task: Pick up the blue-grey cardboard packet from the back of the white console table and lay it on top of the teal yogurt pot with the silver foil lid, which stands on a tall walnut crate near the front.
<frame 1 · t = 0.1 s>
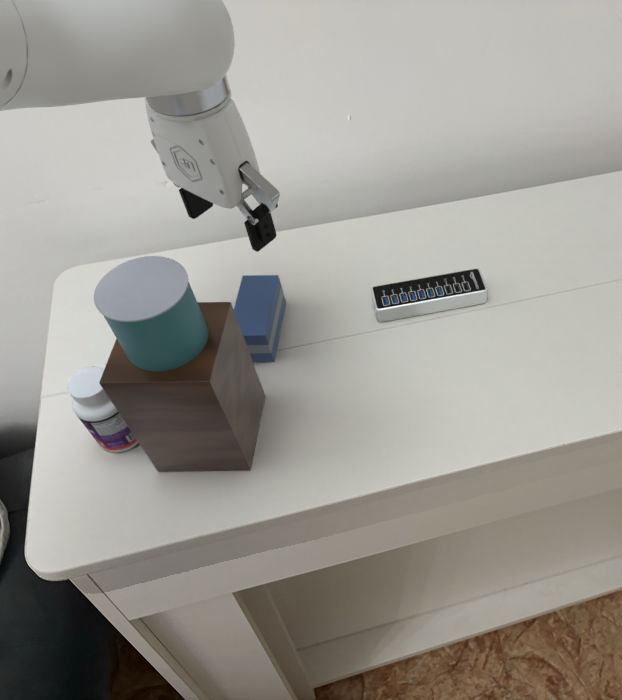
hand: (232, 227, 79), 15 cm above the table, tool pointing down, fingers open, 9 cm apart
yogurt pot: (167, 340, 67), point 16 cm above the table, touching walnut crate
packet: (262, 331, 89), on the table
multiport hub: (429, 301, 93), on the table
pill bottle: (124, 434, 80), on the table
walnut crate: (213, 432, 80), on the table
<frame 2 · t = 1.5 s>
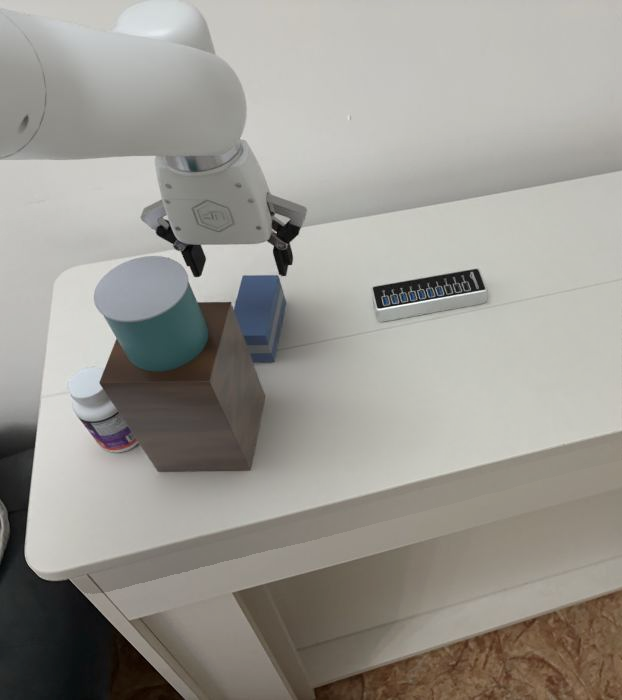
hand: (242, 268, 81), 11 cm above the table, tool pointing down, fingers open, 9 cm apart
nothing on the table moved.
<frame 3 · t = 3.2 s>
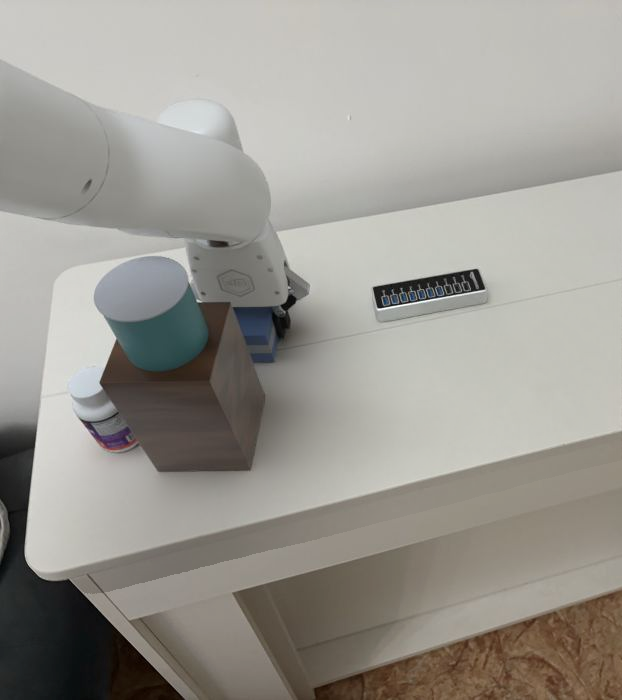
hand: (262, 329, 89), 0 cm above the table, tool pointing down, fingers closed on packet, 4 cm apart
packet: (262, 331, 89), on the table, touching gripper
everything else where it was.
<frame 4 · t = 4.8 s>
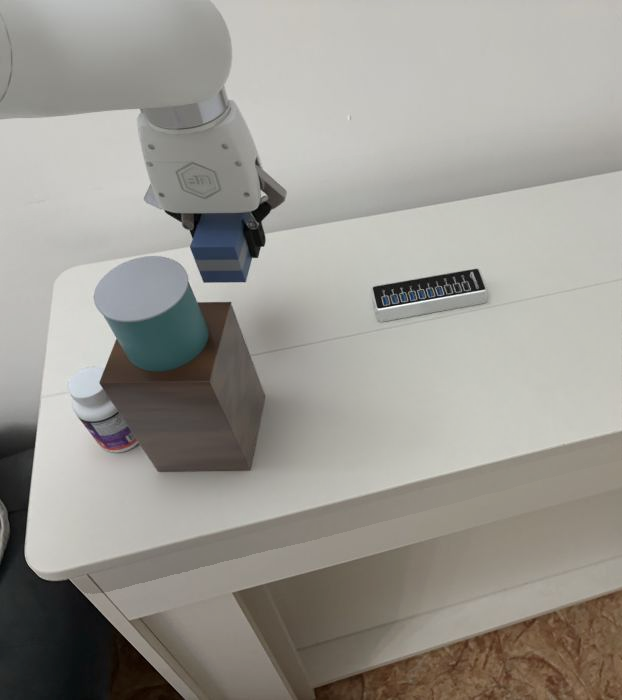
hand: (233, 248, 78), 14 cm above the table, tool pointing down, fingers closed on packet, 4 cm apart
packet: (233, 251, 78), point 14 cm above the table, touching gripper
everything else where it was.
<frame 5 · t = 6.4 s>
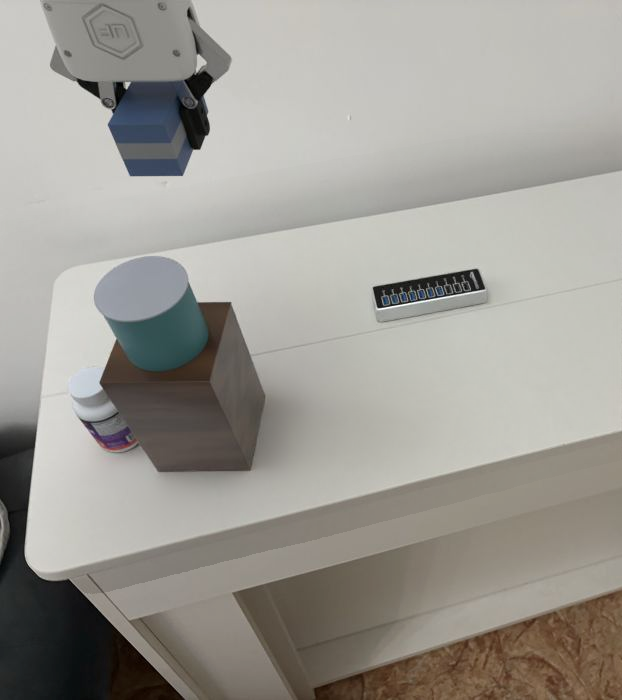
hand: (169, 139, 63), 31 cm above the table, tool pointing down, fingers closed on packet, 4 cm apart
packet: (171, 142, 63), point 30 cm above the table, touching gripper
everything else where it was.
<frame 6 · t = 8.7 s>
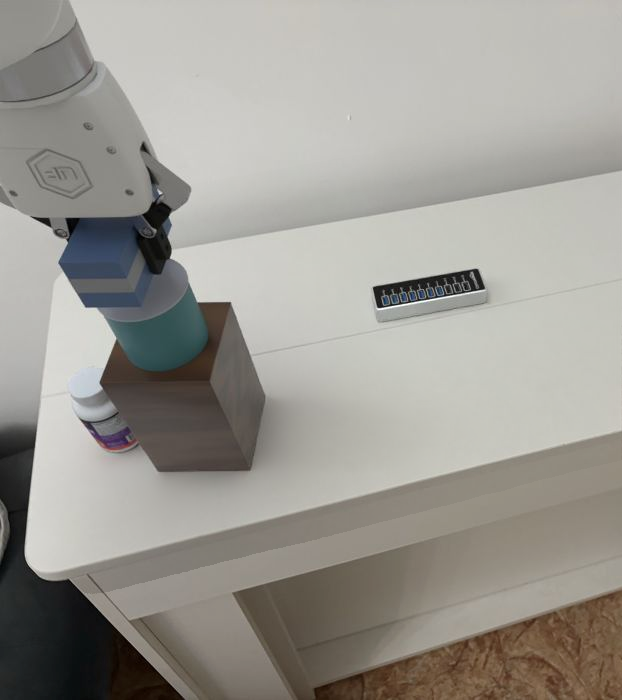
hand: (129, 261, 60), 26 cm above the table, tool pointing down, fingers closed on packet, 4 cm apart
packet: (131, 264, 60), point 26 cm above the table, touching gripper
everything else where it was.
when the fingers open (24 cm above the table, at t = 9.9 s): packet stays where it is, resting on yogurt pot.
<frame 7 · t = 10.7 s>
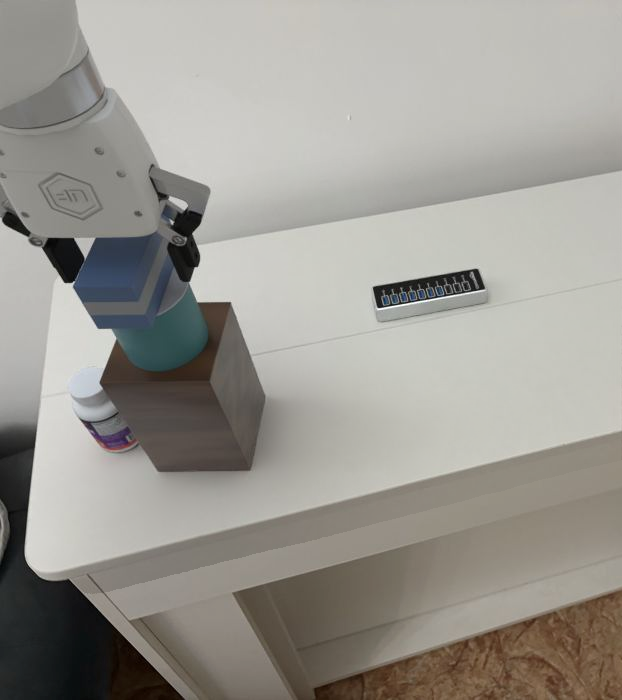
hand: (132, 271, 60), 25 cm above the table, tool pointing down, fingers open, 9 cm apart
yogurt pot: (167, 340, 67), point 16 cm above the table, touching packet, walnut crate
packet: (141, 286, 62), point 23 cm above the table, touching yogurt pot
everything else where it was.
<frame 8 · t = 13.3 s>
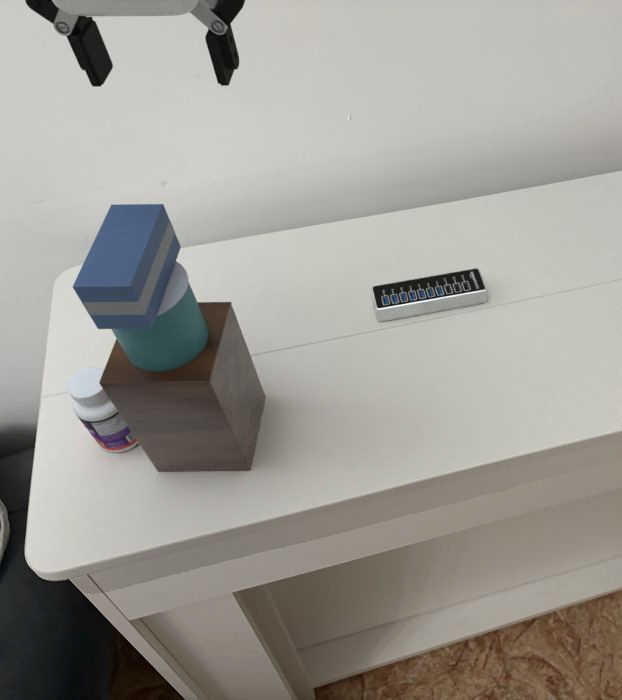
hand: (165, 77, 55), 38 cm above the table, tool pointing down, fingers open, 9 cm apart
nothing on the table moved.
at the end: packet 0.1 cm off-centre on the yogurt pot, point 7.2 cm above the yogurt pot's base; packet touching yogurt pot; yogurt pot tilted 0° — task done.
